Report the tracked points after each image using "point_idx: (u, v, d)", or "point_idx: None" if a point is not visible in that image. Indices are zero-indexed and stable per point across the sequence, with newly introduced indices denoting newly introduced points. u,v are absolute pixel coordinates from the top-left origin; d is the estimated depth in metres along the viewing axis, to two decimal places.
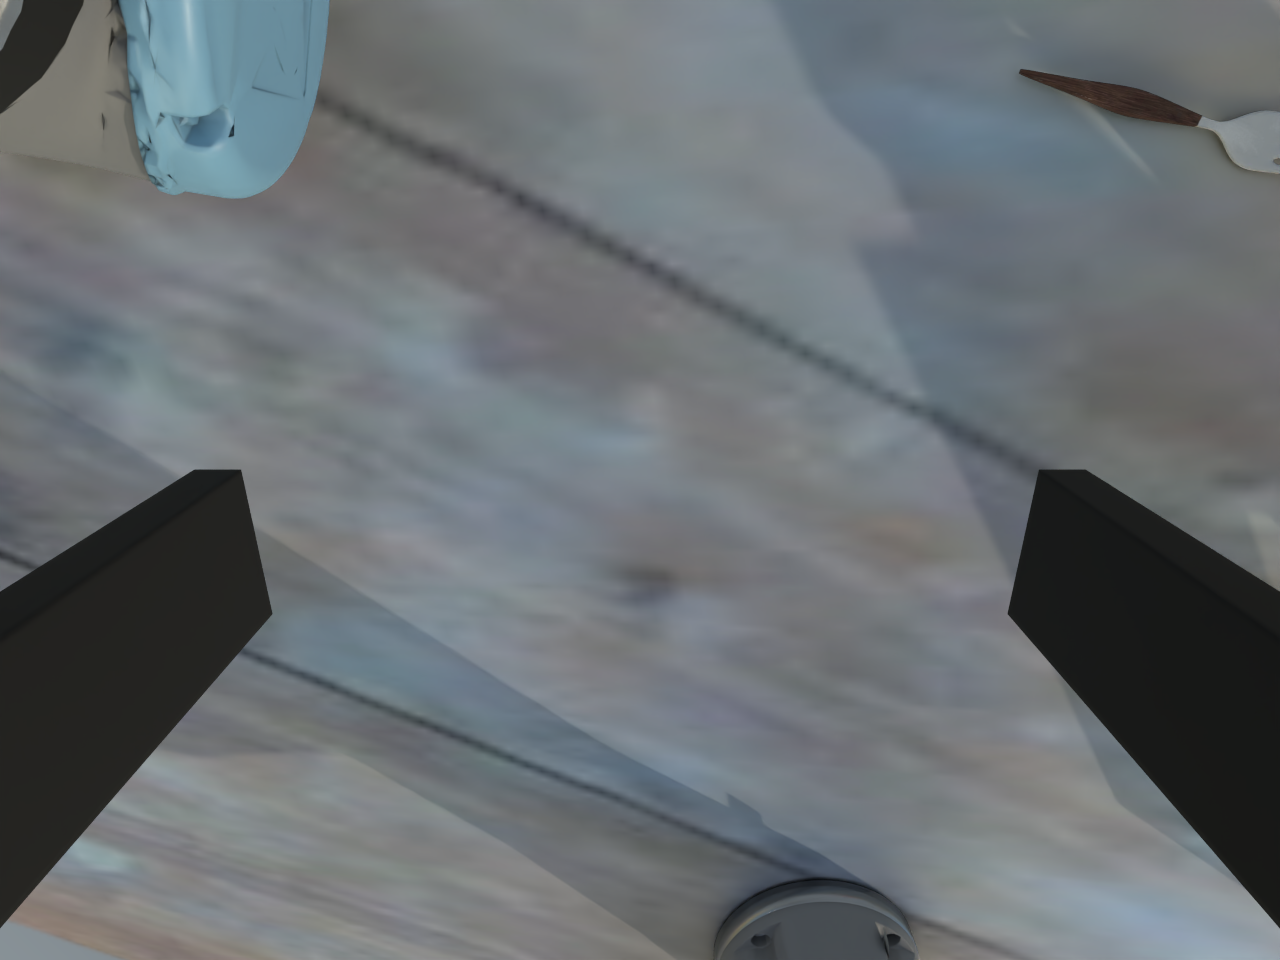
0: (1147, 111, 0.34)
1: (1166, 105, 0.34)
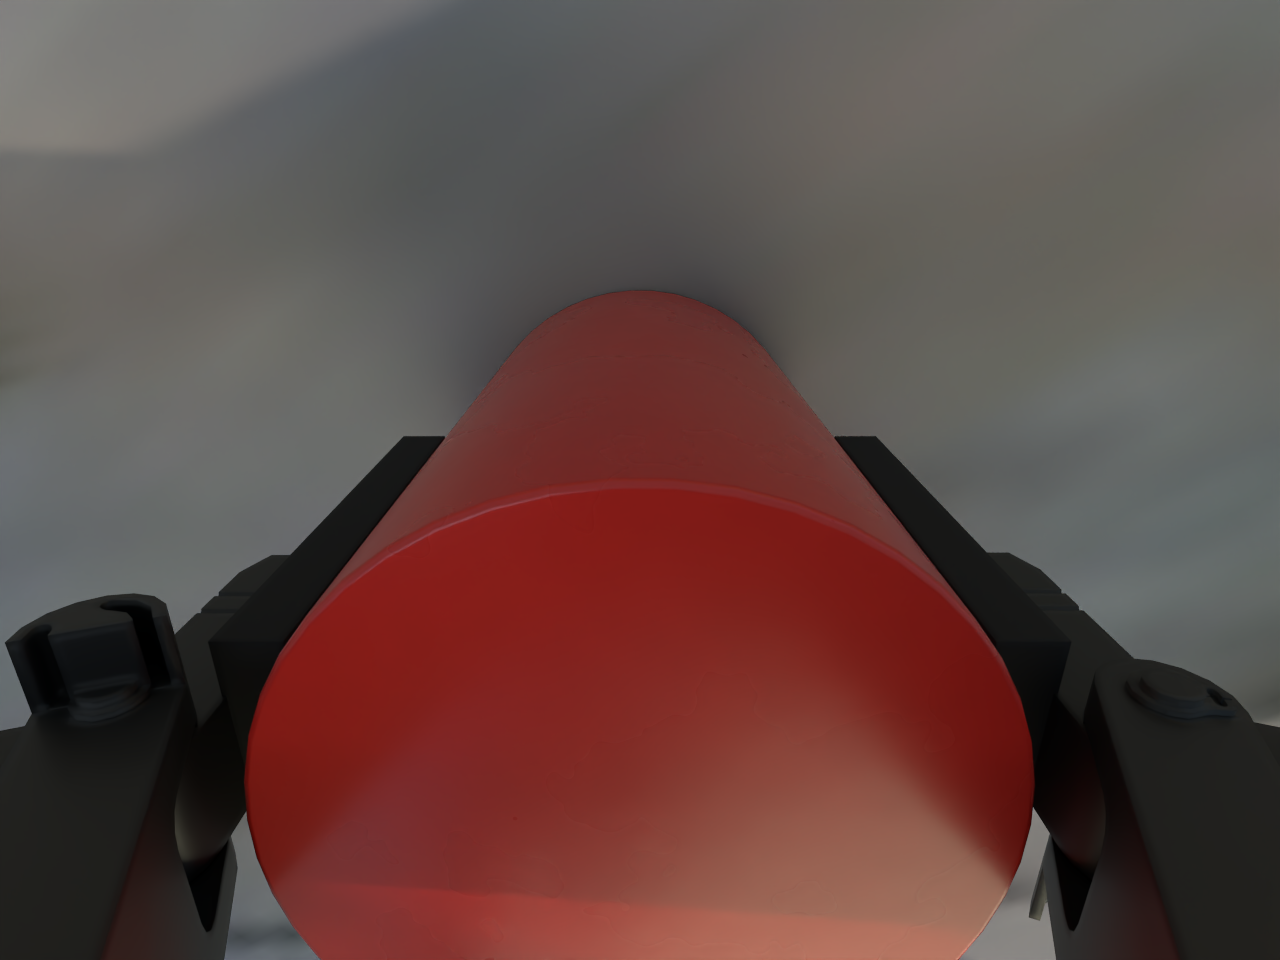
0: None
1: None
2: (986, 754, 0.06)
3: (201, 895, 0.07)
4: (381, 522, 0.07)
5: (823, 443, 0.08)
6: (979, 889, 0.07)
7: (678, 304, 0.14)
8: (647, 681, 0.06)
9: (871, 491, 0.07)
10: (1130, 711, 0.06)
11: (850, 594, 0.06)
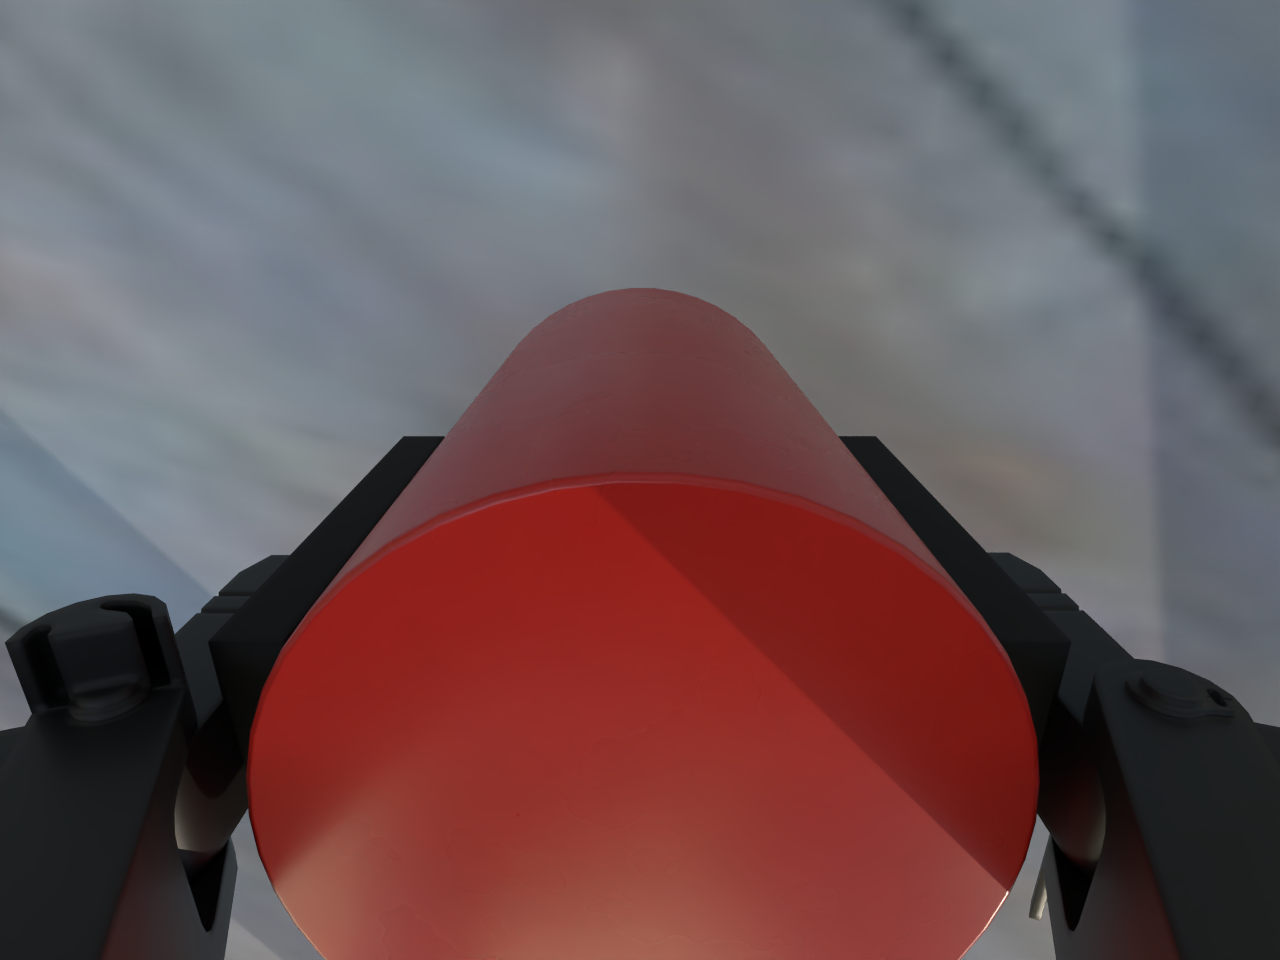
0: None
1: None
2: (991, 750, 0.06)
3: (201, 896, 0.07)
4: (383, 518, 0.07)
5: (826, 439, 0.08)
6: (983, 886, 0.07)
7: (680, 302, 0.14)
8: (651, 678, 0.06)
9: (875, 487, 0.07)
10: (1130, 711, 0.06)
11: (855, 588, 0.06)
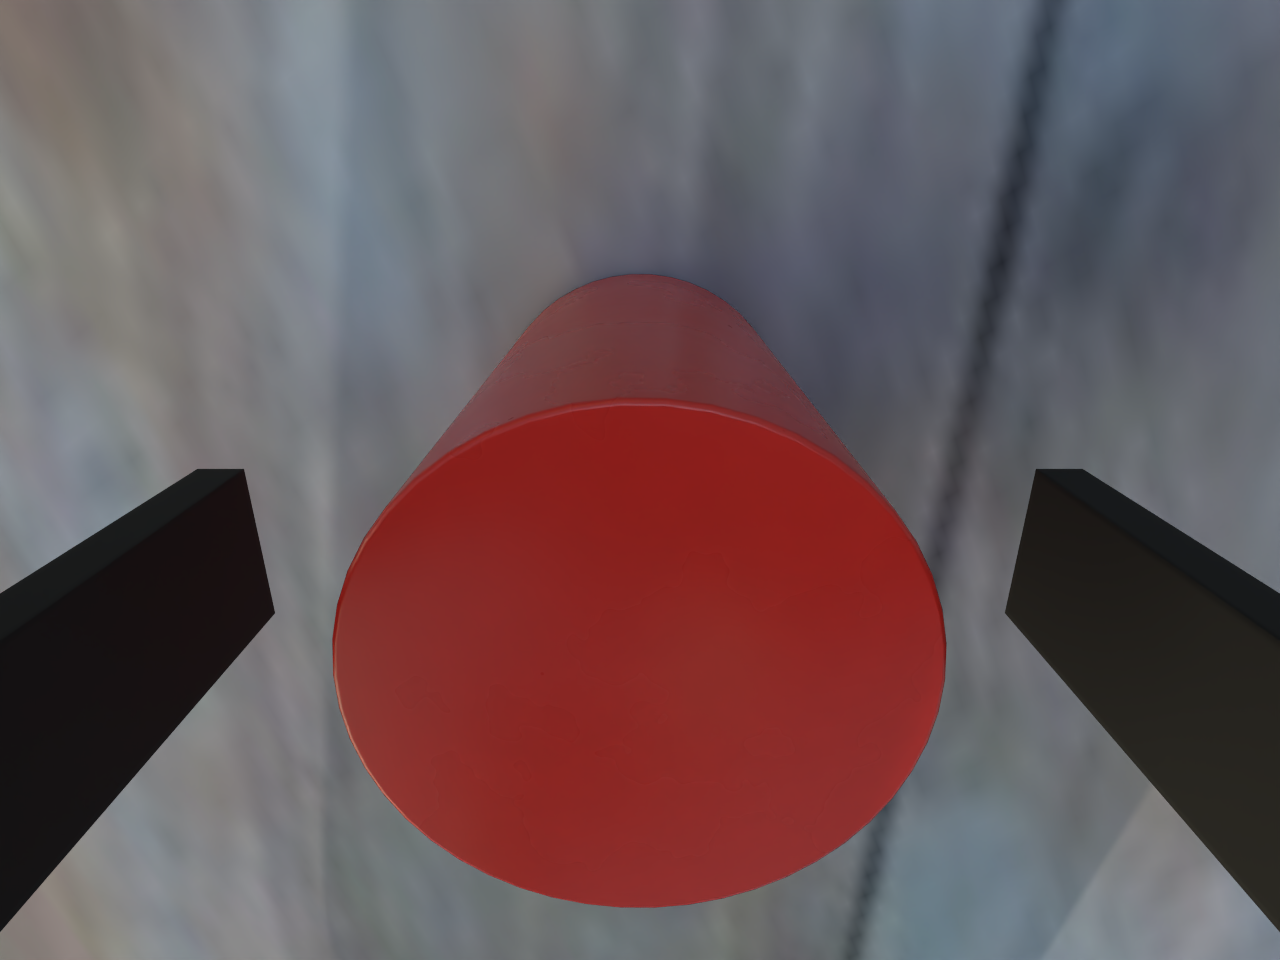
0: None
1: None
2: (908, 620, 0.08)
3: None
4: (434, 447, 0.09)
5: (789, 390, 0.10)
6: (906, 735, 0.09)
7: (674, 285, 0.16)
8: (644, 560, 0.08)
9: (825, 426, 0.09)
10: None
11: (799, 488, 0.07)
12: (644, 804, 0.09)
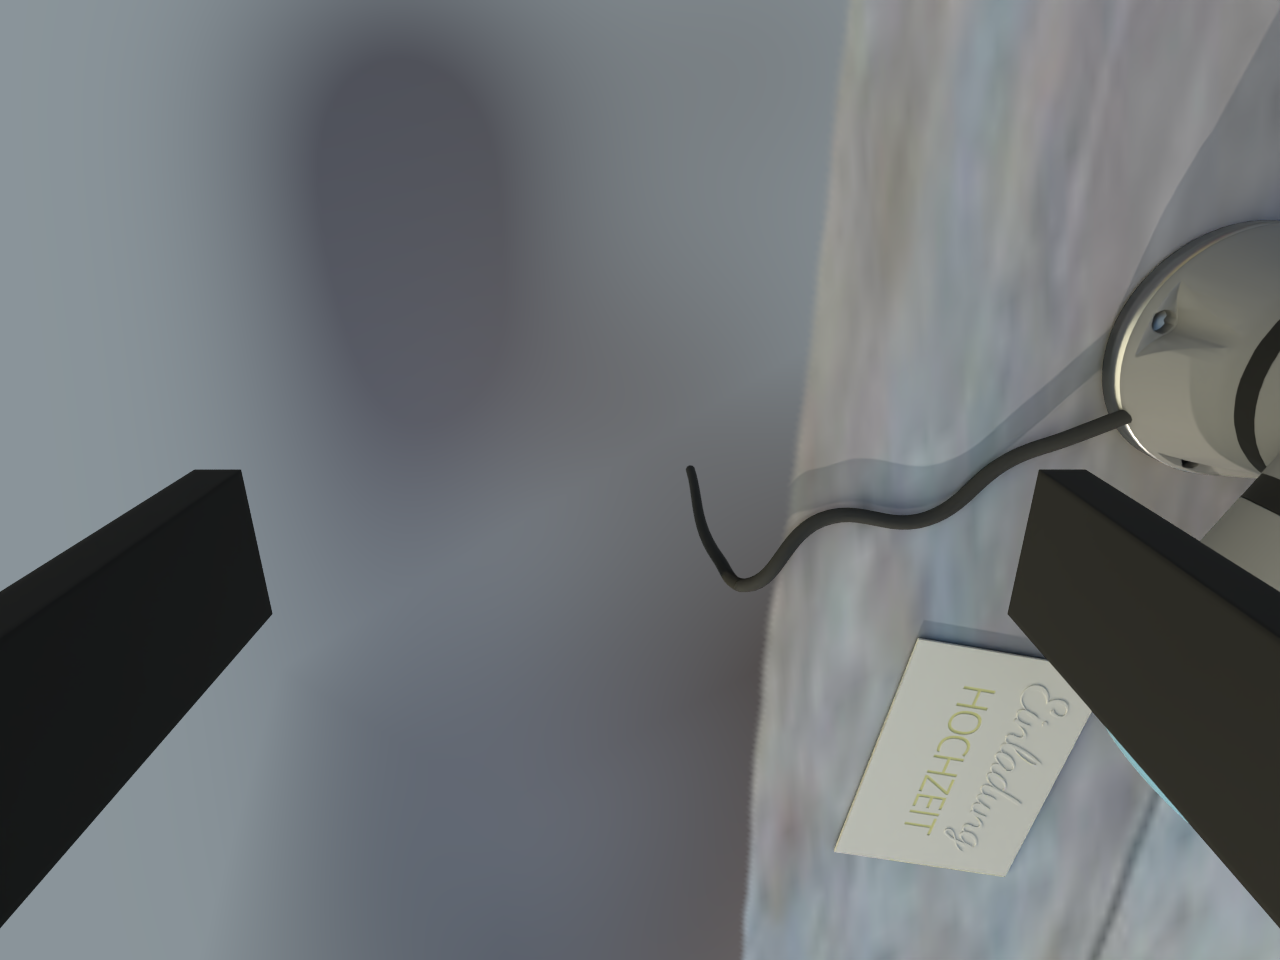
0: None
1: None
2: None
3: None
4: None
5: None
6: None
7: None
8: None
9: None
10: None
11: None
12: None
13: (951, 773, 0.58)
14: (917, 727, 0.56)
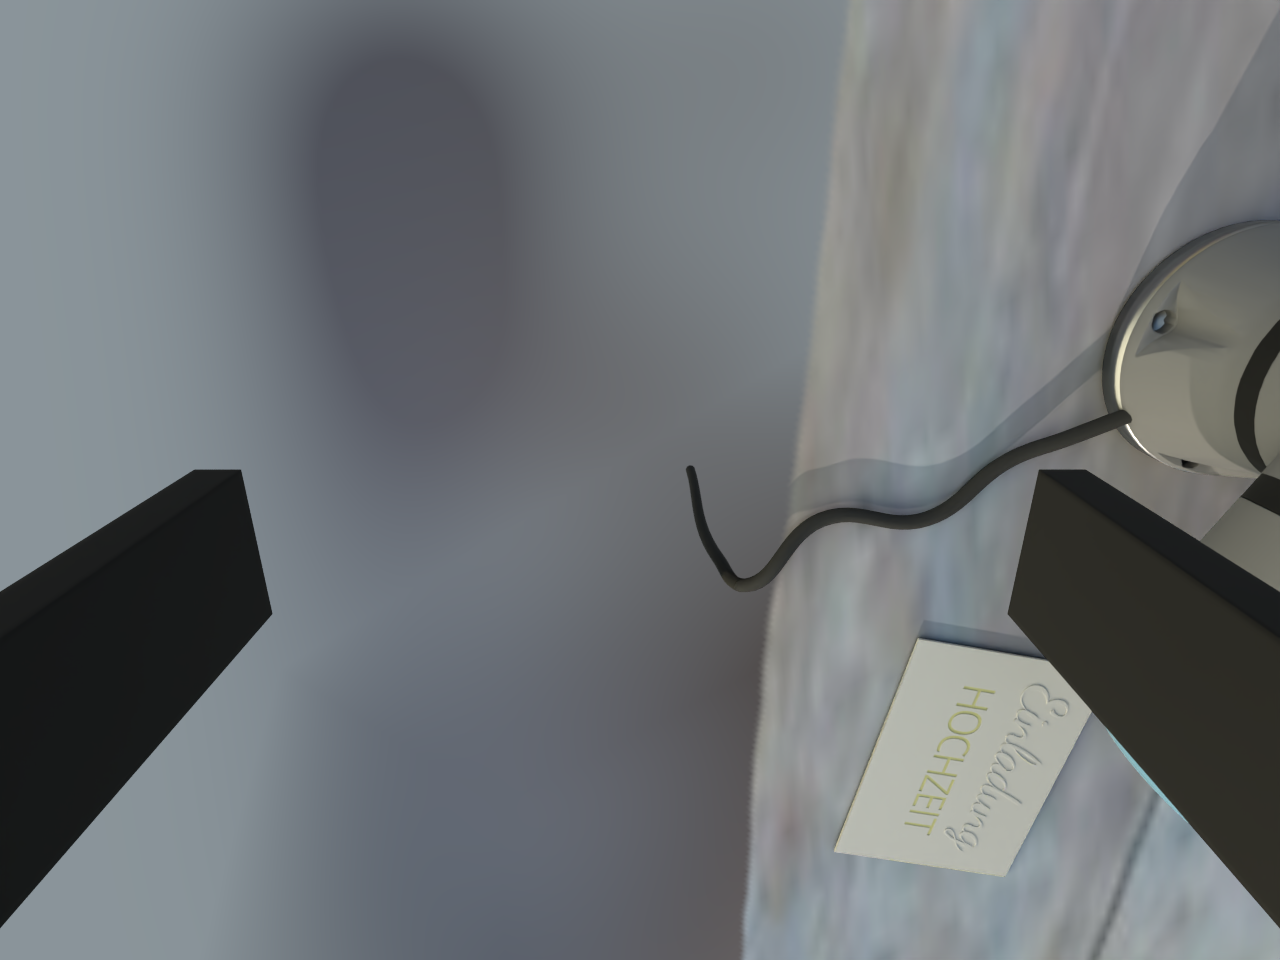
0: None
1: None
2: None
3: None
4: None
5: None
6: None
7: None
8: None
9: None
10: None
11: None
12: None
13: (951, 773, 0.58)
14: (917, 727, 0.56)
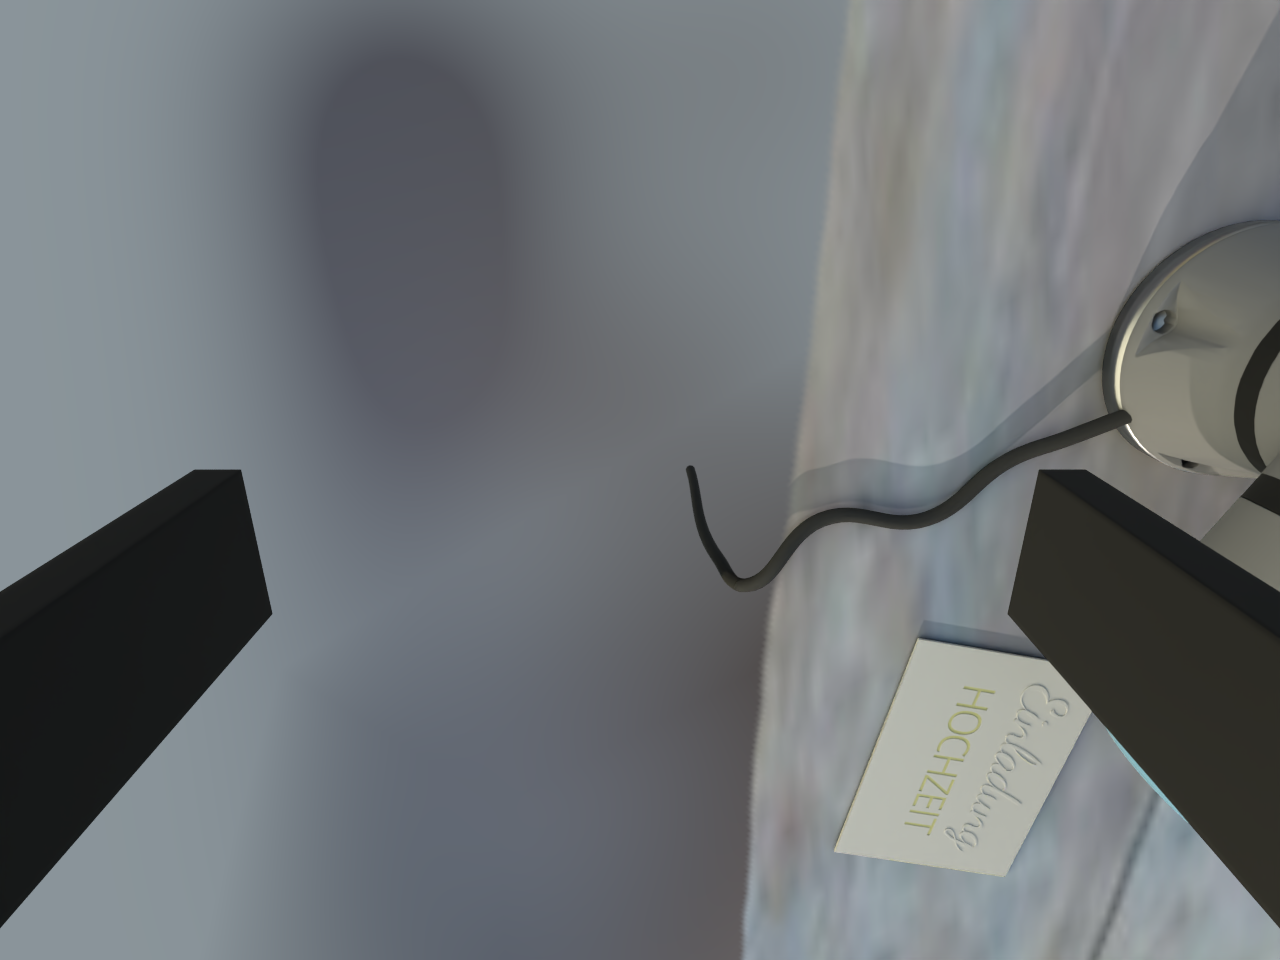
0: None
1: None
2: None
3: None
4: None
5: None
6: None
7: None
8: None
9: None
10: None
11: None
12: None
13: (951, 773, 0.58)
14: (917, 727, 0.56)
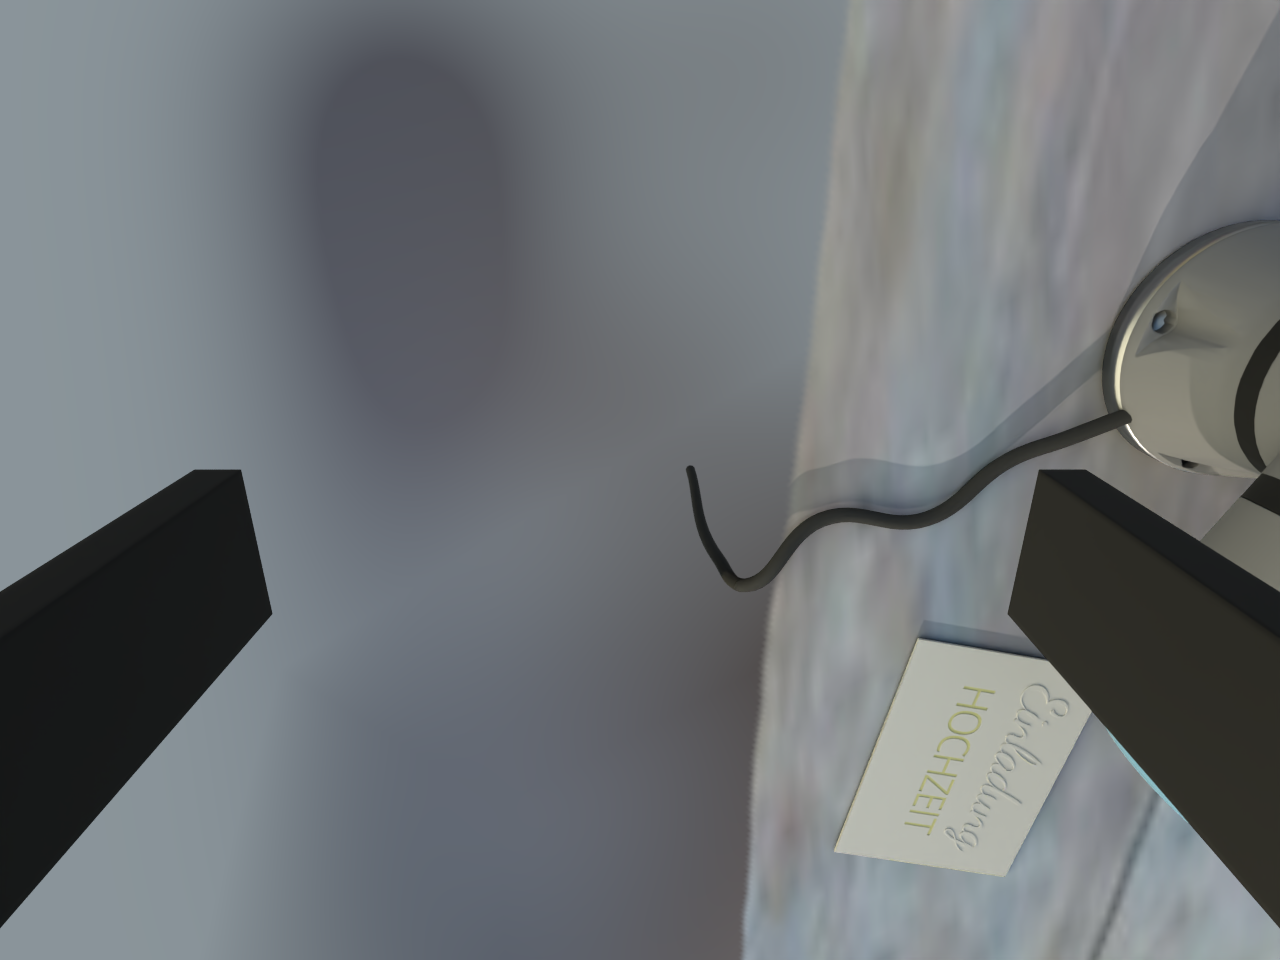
0: None
1: None
2: None
3: None
4: None
5: None
6: None
7: None
8: None
9: None
10: None
11: None
12: None
13: (951, 773, 0.58)
14: (917, 727, 0.56)
